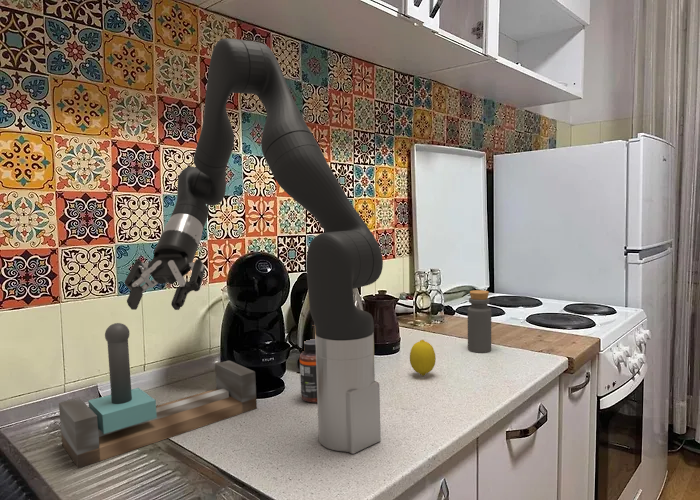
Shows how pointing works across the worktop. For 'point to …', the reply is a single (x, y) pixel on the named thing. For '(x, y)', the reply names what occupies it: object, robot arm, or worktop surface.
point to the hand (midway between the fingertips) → (153, 307)
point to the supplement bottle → (308, 371)
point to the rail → (172, 417)
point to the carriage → (121, 388)
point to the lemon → (422, 357)
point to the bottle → (479, 322)
